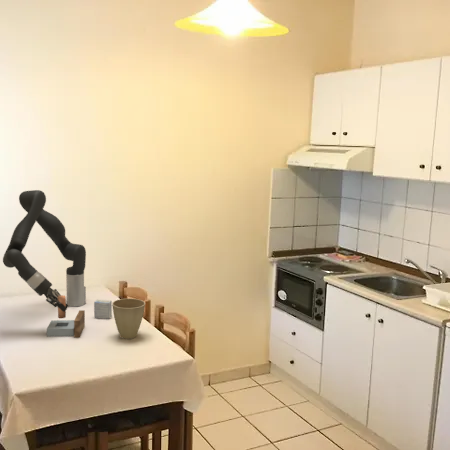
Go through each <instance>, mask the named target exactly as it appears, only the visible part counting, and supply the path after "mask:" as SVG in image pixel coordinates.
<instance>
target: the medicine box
mask: <svg viewBox="0 0 450 450" xmlns="http://www.w3.org/2000/svg"><path fill="white" fill-rule="evenodd" d="M112 303H113V302H112V300H110V299H108V300H107V299H96V300H95V301H94V303H93V311H94V319H104V320H110V319H111V318H112V317H113V312H112V311H113V306H112Z"/></svg>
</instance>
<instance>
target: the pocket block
mask: <svg viewBox="0 0 450 450" xmlns="http://www.w3.org/2000/svg"><path fill="white" fill-rule="evenodd" d="M74 320H75V319H74ZM74 320H73V319H68V320H67V319H64V320H63V319H62V320H60V319H59V320H58V319H57V320H50V322H49V323H48V326H47V328H46V338H47V337H48V338H50V337H52V338H53V337H56V338H57V337H60V338H61V337H64V338H65V337H74Z"/></svg>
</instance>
